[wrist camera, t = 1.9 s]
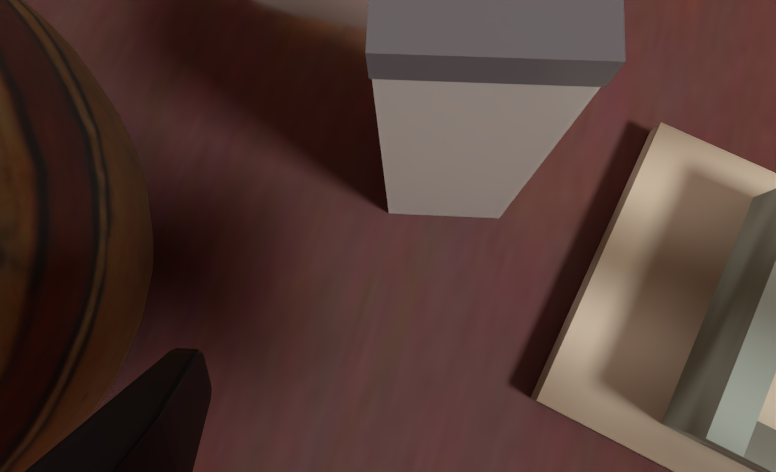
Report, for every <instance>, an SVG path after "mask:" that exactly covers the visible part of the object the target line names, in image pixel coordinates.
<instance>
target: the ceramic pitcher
mask: <svg viewBox="0 0 776 472" xmlns="http://www.w3.org/2000/svg"><path fill="white" fill-rule="evenodd" d="M153 249H154V240H153V229H152V221H151V214H150V207H149V199H148V192H147V186H146V182H145V179H144V176H143V172H142V169H141V165H140V162H139V159H138V155H137V152H136V149H135V147H134V145H133V143H132V141H131V139H130V136H129V134H128V132H127V130H126V128H125V126H124V124H123V122H122V120H121V118H120V116H119V114H118V112H117V111H116V109H115V108H114V106H113V104H112V103H111V101H110V100H109V98H108V97H107V95H106V94H105V92H104V91H103V89H102V88H101V86H100V85H99V83H98V82H97V80H96V79H95V77H94V76H93V75H92V73H91V72H90V71H89V69H88V68H87V66H86V65H85V64H84V62H83V61H82V60H81V58H80V57H79V55H78V54H77V53H76V51H75V50H74V49H73V47H72V46H71V45H70V44H69V43H68V42H67V41H66V40H65V39H64V38H63V37H62V36H61V35H60V34H59V33H58V32H57V31H56V30H55V29H54V27H53V26H51V25H50V24H49V23H48V22H47V21H46V20H45V19H44V18H43V17H42V16H41V15H40V14H39V13H38V12H36V11H35V10H34V9H33V8H32V7H30V6H29V5H28V4H27V3H26V2H24V1H23V0H0V472H24V471H26V470H27V469H28V468H29V467H30V466H32V465H33V464H34V463H35V462H36V461H38V460H39V459H40V458H41V457H43V456H44V455H45V454H46V453H47V452H49V451H50V450H51V449H52V448H53V447H55V446H56V445H57V444H58V443H59V442H61V441H62V440H63V439H64V438H66V437H67V436H68V435H69V434H70V433H72V432H73V431H74V430H75V429H76V428H78V427H79V426H80V425H81V424H82V423H84V422H85V421H86V420H87V419H89V418H90V416H91V415H92V414H93V412H94V411H95V410H96V409H97V407H98V406H99V405H100V403H101V402H102V401H103V399H104V398H105V396H106V395H107V393H108V392H109V390H110V388H111V387H112V385H113V383H114V382H115V380H116V379H117V377H118V375H119V374H120V372H121V370H122V368H123V365H124V363H125V360H126V358H127V356H128V353H129V351H130V348H131V346H132V344H133V341H134V339H135V336H136V334H137V332H138V329H139V327H140V324H141V322H142V318H143V314H144V309H145V305H146V300H147V296H148V291H149V287H150V282H151V278H152V273H153Z"/></svg>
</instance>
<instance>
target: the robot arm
mask: <svg viewBox="0 0 776 472" xmlns="http://www.w3.org/2000/svg"><path fill="white" fill-rule="evenodd" d="M210 400H211V382H210V378H209V374H208V370H207V366H206V362H205V358H204V355H203V353H202V352H201V351H200V350H198V349H183V348H176V349H173V350H171V351H170V352H168V353H167V354H166V355H165V356H164V357H162V358H161V359H160V360H159V361H158V362H156V363H155V364H154V365H153V366H152V367H150V368H149V369H148V370H147V371H145V372H144V373H143V374H142V375H141V376H139V377H138V378H137V379H136V380H135V381H133V382H132V383H131V384H130V385H129V386H127V387H126V388H125V389H124V390H122V391H121V392H120V393H119V394H118V395H116V396H115V397H114V398H113V399H112V400H110V401H109V402H108V403H107V404H106V405H104V406H103V407H102V408H101V409H99V410H98V411H97V412H96V413H95V414H93V415H92V416H91V417H90V418H89V419H87V420H86V421H85V422H84V423H82V424H81V425H80V426H79V427H78V428H76V429H75V430H74V431H73V432H72V433H70V434H69V435H68V436H67V437H66V438H64V439H63V440H62V441H61V442H59V443H58V444H57V445H56V446H55V447H53V448H52V449H51V450H50V451H49V452H47V453H46V454H45V455H44V456H43V457H41V458H40V459H39V460H38V461H36V462H35V463H34V464H33V465H32V466H30V467H29V468H28V469H27V470H26V471H24V472H192V471H193V467H194V463H195V459H196V455H197V451H198V448H199V444H200V440H201V436H202V432H203V428H204V424H205V420H206V416H207V412H208V408H209V404H210Z"/></svg>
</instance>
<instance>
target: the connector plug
mask: <svg viewBox="0 0 776 472" xmlns="http://www.w3.org/2000/svg"><path fill="white" fill-rule="evenodd" d="M365 55H366V62H367V69H368V77H369V79H372V85H373V92H374V100H375V108H376V116H377V124H378V132H379V140H380V148H381V156H382V164H383V172H384V179H385V187H386V195H387V203H388V211H389V213H392V214H414V215H437V216H459V217H482V218H500V216H501V215H502V214H503V212H504V211H505V210H506V209H507V207H508V206H509V205H510V203H511V202H512V201H513V200H514V198H515V197H516V196H517V194H518V193H519V192H520V191H521V189H522V188H523V187H524V185H525V184H526V183H527V181H528V180H529V179H530V178H531V176H532V175H533V174H534V172H535V171H536V170H537V169H538V167H539V166H540V165H541V163H542V162H543V161H544V160H545V158H546V157H547V156H548V154H549V153H550V152H551V151H552V149H553V148H554V147H555V145H556V144H557V143H558V142H559V140H560V139H561V138H562V136H563V135H564V134H565V132H566V131H567V130H568V129H569V127H570V126H571V125H572V123H573V122H574V121H575V120H576V118H577V117H578V116H579V114H580V113H581V112H582V111H583V109H584V108H585V107H586V105H587V104H588V103H589V102H590V100H591V99H592V98H593V96H594V95H595V94H596V93H597V91H598V90H599V89H600V87H606V86H607V84H608V83H609V82H610V81H611V79H612V78H613V77H614V76H615V74H616V73H617V72H618V70H619V69H620V68H621V67H622V65H623V64H624V63H625V29H624V0H369V4H368V19H367V34H366V50H365Z"/></svg>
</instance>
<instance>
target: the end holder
mask: <svg viewBox="0 0 776 472" xmlns="http://www.w3.org/2000/svg"><path fill="white" fill-rule="evenodd" d="M530 398H532V399H534V400H536V401H538V402H540V403H542V404H543V405H545V406H547V407H549V408H551V409H553V410H555V411H557V412H559V413H561V414H563V415H565V416H567V417H569V418H571V419H573V420H575V421H576V422H578V423H580V424H582V425H584V426H586V427H588V428H590V429H592V430H594V431H596V432H598V433H600V434H602V435H604V436H606V437H608V438H609V439H611V440H613V441H615V442H617V443H619V444H621V445H623V446H625V447H627V448H629V449H631V450H633V451H635V452H637V453H639V454H641V455H642V456H644V457H646V458H648V459H650V460H652V461H654V462H656V463H658V464H660V465H662V466H664V467H666V468H668V469H670V470H672V471H674V472H776V173H774V172H772V171H770V170H767V169H765V168H763V167H761V166H758V165H756V164H754V163H752V162H749V161H747V160H745V159H743V158H740V157H738V156H736V155H734V154H731V153H729V152H727V151H725V150H722V149H720V148H718V147H716V146H713V145H711V144H709V143H706V142H704V141H702V140H700V139H697V138H695V137H693V136H691V135H688V134H686V133H684V132H682V131H679V130H677V129H675V128H673V127H670V126H668V125H666V124H664V123H660V124H658V125H657V126H656V127H655V128H654V129H652V130H651V131H650V133H649V135H648V137H647V139H646V142H645V144H644V146H643V148H642V150H641V153H640V155H639V157H638V159H637V162H636V164H635V166H634V168H633V171H632V173H631V175H630V177H629V179H628V182H627V184H626V186H625V188H624V191H623V193H622V195H621V197H620V199H619V202H618V204H617V206H616V208H615V211H614V213H613V215H612V217H611V219H610V222H609V224H608V226H607V228H606V231H605V233H604V235H603V237H602V239H601V242H600V244H599V246H598V248H597V251H596V253H595V255H594V257H593V259H592V262H591V264H590V266H589V268H588V271H587V273H586V275H585V277H584V279H583V282H582V284H581V286H580V288H579V291H578V293H577V295H576V297H575V300H574V302H573V304H572V306H571V308H570V311H569V313H568V315H567V317H566V320H565V322H564V324H563V326H562V328H561V331H560V333H559V335H558V337H557V340H556V342H555V344H554V346H553V348H552V351H551V353H550V355H549V357H548V360H547V362H546V364H545V366H544V368H543V371H542V373H541V375H540V377H539V380H538V382H537V384H536V386H535V388H534V391H533V393H532V395H531V397H530Z"/></svg>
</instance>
